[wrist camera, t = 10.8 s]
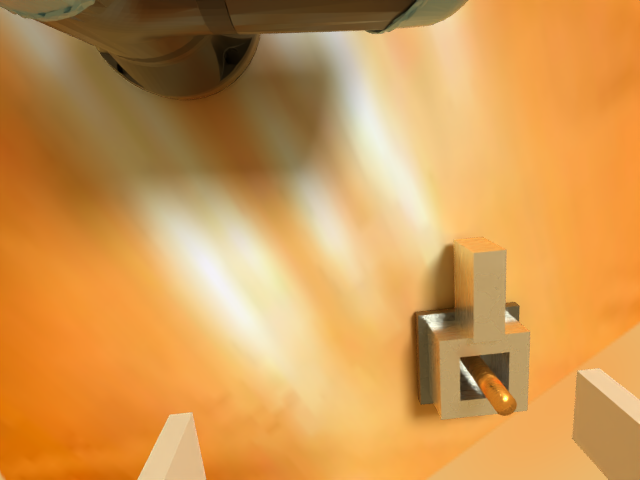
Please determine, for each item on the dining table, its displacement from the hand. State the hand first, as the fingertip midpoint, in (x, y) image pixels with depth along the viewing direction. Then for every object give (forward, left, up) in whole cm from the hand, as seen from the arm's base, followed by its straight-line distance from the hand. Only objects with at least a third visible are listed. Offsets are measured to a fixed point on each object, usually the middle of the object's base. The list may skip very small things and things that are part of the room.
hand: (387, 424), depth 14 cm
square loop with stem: (+11, +14, -28) cm, 33 cm away
